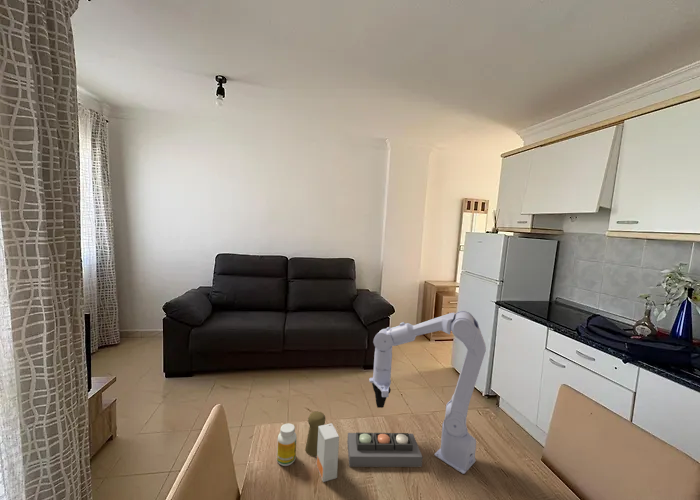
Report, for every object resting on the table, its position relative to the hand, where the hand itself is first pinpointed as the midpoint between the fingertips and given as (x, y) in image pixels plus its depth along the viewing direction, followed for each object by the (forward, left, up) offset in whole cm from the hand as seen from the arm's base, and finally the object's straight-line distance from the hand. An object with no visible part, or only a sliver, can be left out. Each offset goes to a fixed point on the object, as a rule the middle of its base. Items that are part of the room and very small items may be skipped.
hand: (379, 406), depth 99 cm
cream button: (-10, +2, -6) cm, 12 cm away
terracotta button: (-7, +6, -6) cm, 11 cm away
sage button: (-3, +10, -6) cm, 12 cm away
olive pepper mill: (+8, +20, -10) cm, 24 cm away
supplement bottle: (+10, +29, -10) cm, 32 cm away
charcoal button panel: (-7, +6, -9) cm, 13 cm away
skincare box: (-1, +23, -10) cm, 25 cm away
